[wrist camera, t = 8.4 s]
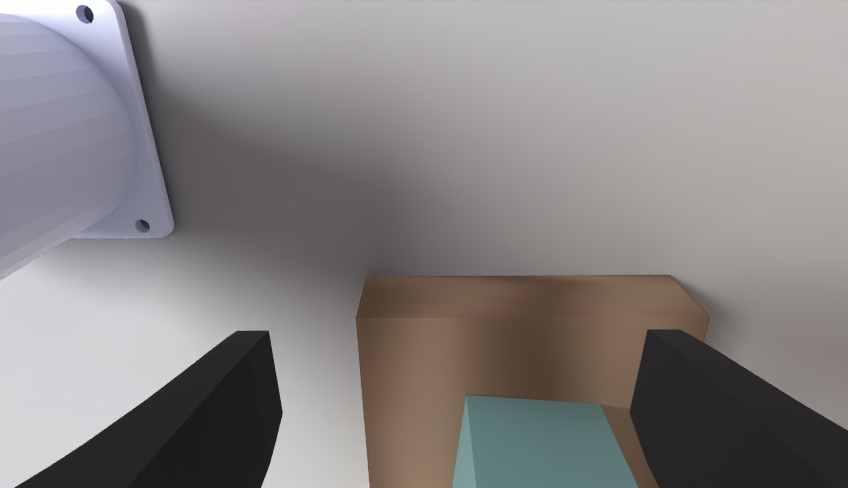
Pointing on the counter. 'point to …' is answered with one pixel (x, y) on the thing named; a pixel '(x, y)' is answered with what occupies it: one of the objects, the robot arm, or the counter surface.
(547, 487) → the teal cube
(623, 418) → the square wooden block
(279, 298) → the counter surface
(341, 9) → the counter surface
